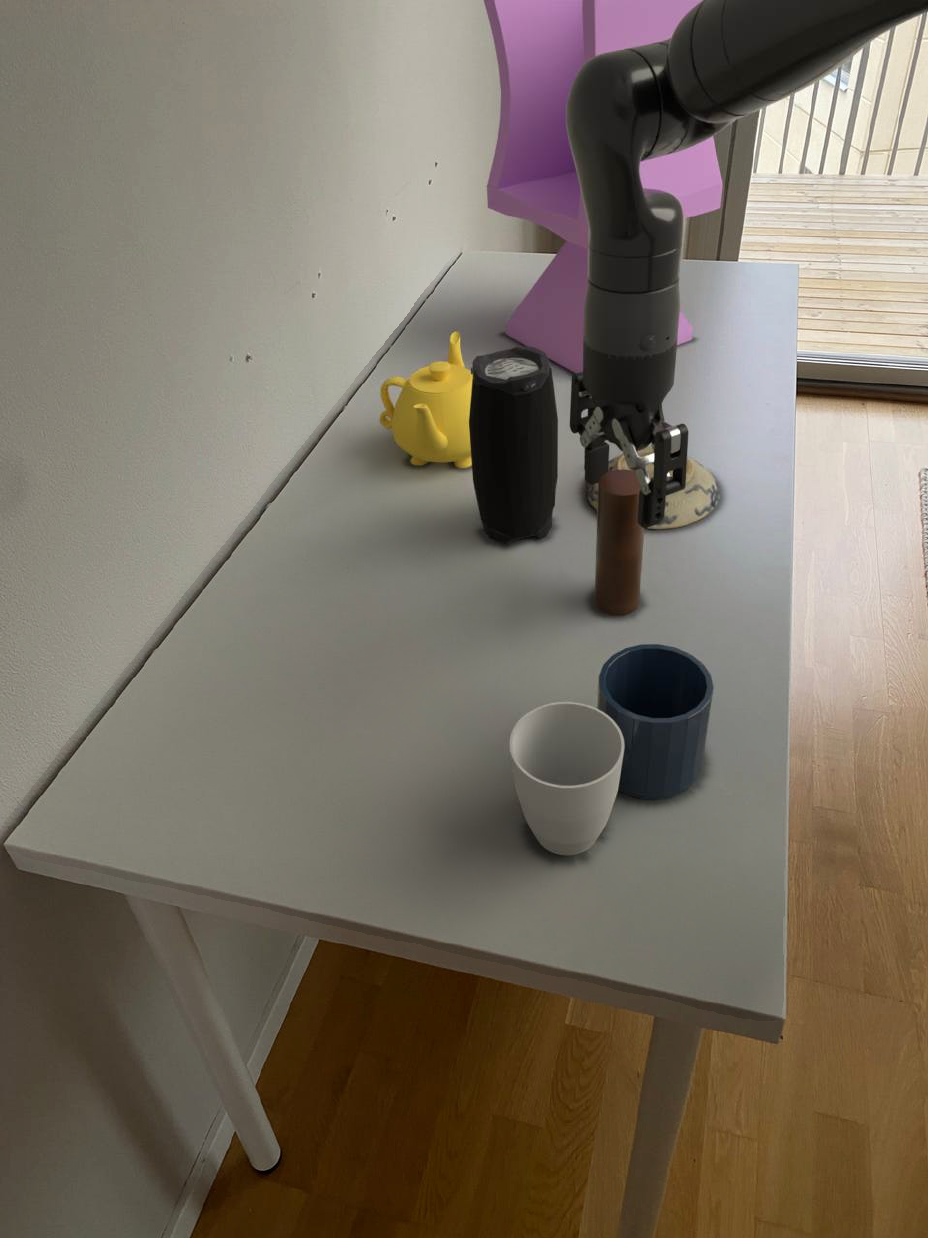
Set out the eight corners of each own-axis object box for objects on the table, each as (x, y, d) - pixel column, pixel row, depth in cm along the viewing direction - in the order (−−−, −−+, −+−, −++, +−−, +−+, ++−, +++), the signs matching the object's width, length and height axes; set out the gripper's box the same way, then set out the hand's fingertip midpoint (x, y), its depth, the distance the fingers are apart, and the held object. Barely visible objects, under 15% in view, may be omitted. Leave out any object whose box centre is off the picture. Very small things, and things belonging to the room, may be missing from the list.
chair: (493, 333, 143) (477, -20, 114) (607, 295, 152) (619, -43, 122) (585, 386, 129) (594, -5, 99) (705, 340, 137) (746, -32, 108)
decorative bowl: (718, 461, 112) (592, 454, 115) (722, 434, 110) (593, 428, 112) (720, 535, 101) (580, 526, 104) (724, 507, 99) (581, 498, 101)
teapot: (403, 408, 127) (394, 327, 120) (511, 413, 124) (508, 330, 117) (360, 489, 112) (346, 402, 105) (481, 497, 109) (475, 408, 102)
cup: (639, 823, 73) (647, 737, 67) (575, 892, 69) (576, 807, 62) (557, 772, 77) (557, 686, 71) (492, 833, 73) (486, 748, 67)
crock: (719, 749, 78) (733, 671, 72) (668, 817, 73) (677, 740, 67) (630, 706, 83) (636, 630, 77) (575, 767, 78) (577, 691, 72)
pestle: (647, 597, 94) (657, 478, 85) (624, 621, 91) (631, 500, 82) (609, 582, 96) (615, 464, 87) (585, 605, 93) (588, 485, 84)
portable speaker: (461, 534, 104) (447, 370, 91) (511, 495, 109) (504, 334, 97) (524, 559, 100) (518, 390, 87) (573, 517, 105) (574, 352, 92)
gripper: (725, 351, 72) (704, 526, 82) (618, 293, 82) (612, 456, 92) (643, 377, 69) (633, 554, 80) (544, 314, 79) (546, 479, 90)
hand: (621, 501), depth 86 cm, fingers open, 8 cm apart
